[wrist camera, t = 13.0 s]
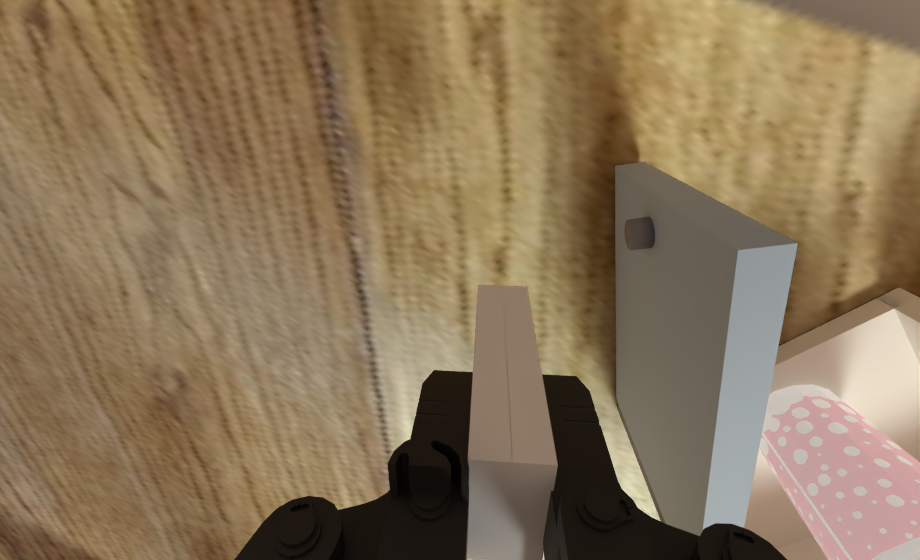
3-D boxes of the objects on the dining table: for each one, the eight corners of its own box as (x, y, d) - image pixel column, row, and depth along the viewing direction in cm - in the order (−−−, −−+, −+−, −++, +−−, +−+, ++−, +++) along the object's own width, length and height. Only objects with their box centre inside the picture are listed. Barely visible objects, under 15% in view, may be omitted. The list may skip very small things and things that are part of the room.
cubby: (737, 554, 29) (862, 793, 19) (614, 406, 24) (698, 626, 14) (980, 470, 24) (1307, 728, 15) (890, 266, 20) (1285, 451, 10)
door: (641, 396, 23) (737, 595, 14) (603, 399, 24) (673, 596, 15) (648, 160, 18) (808, 241, 9) (598, 168, 18) (704, 254, 9)
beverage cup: (824, 464, 24) (1203, 901, 11) (715, 452, 24) (968, 870, 11) (880, 379, 21) (1463, 826, 8) (758, 365, 21) (1152, 786, 9)
